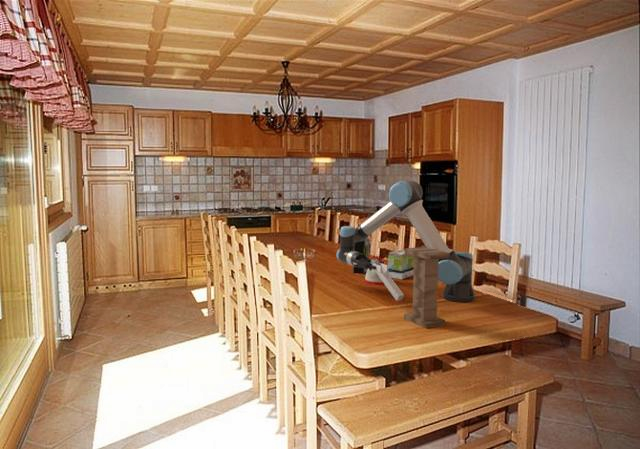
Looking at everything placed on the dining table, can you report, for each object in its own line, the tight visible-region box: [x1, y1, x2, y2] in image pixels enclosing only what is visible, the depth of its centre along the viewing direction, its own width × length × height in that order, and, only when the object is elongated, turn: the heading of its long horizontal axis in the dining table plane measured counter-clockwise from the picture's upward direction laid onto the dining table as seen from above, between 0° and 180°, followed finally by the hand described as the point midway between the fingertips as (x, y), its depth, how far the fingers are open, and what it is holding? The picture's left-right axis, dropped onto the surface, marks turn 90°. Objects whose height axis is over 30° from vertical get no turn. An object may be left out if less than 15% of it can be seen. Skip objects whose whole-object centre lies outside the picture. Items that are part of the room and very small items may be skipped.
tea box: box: [387, 249, 414, 280], centre depth 283 cm, size 15×10×15 cm
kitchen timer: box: [364, 254, 389, 286], centre depth 269 cm, size 14×14×15 cm
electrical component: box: [353, 237, 371, 275], centre depth 298 cm, size 18×10×20 cm, turn 168°
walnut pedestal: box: [403, 246, 450, 329], centre depth 200 cm, size 16×10×30 cm, turn 28°
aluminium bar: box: [370, 258, 405, 301], centre depth 224 cm, size 25×3×3 cm
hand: (384, 268), depth 225 cm, fingers closed on aluminium bar, 3 cm apart
